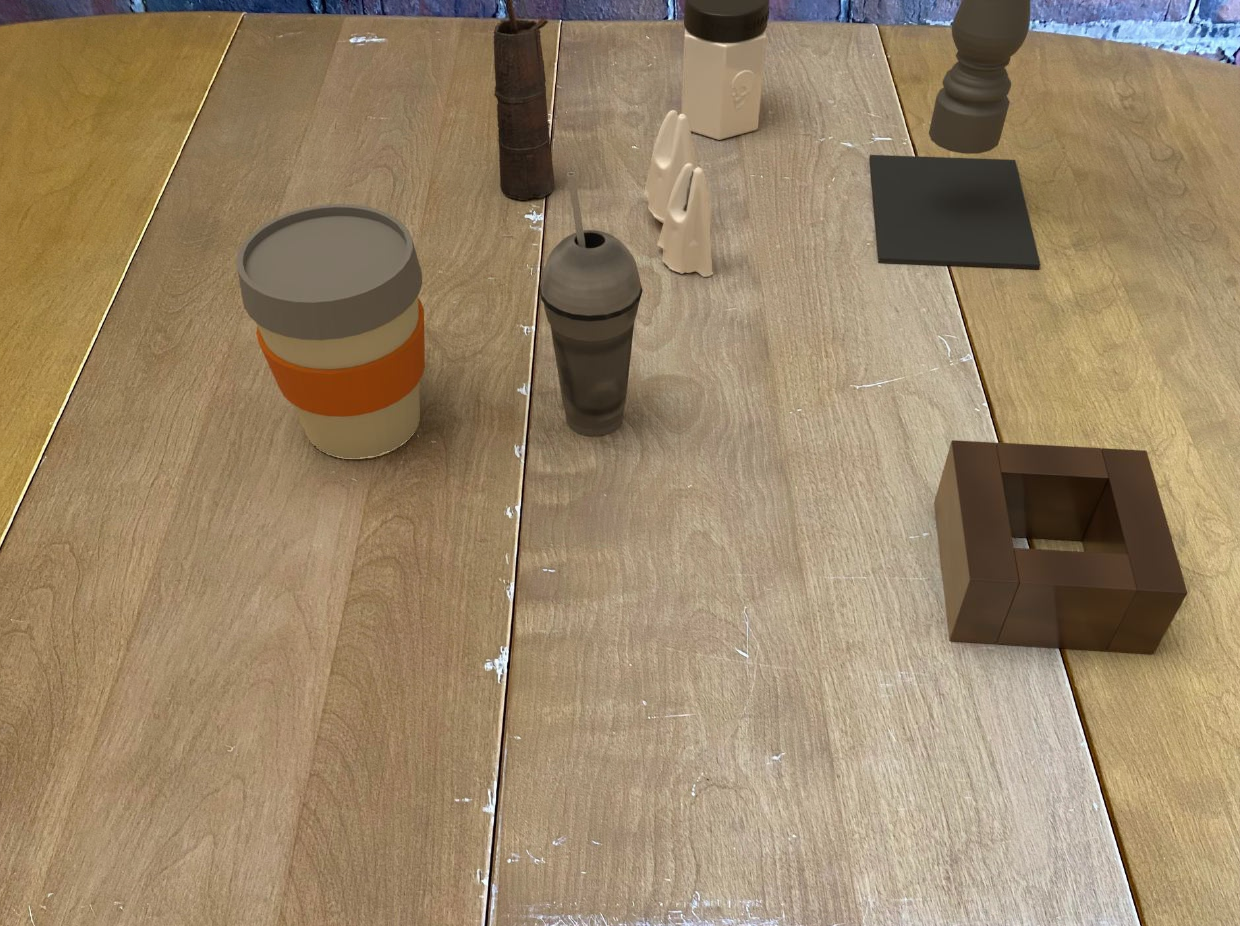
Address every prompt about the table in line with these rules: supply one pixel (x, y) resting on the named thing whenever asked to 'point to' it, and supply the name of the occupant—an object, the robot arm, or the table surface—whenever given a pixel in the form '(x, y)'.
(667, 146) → the shaker set
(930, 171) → the mat
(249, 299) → the reusable coffee cup
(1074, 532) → the holder
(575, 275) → the beverage cup
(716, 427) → the table surface
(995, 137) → the candle holder
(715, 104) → the jar
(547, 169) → the butter churn
